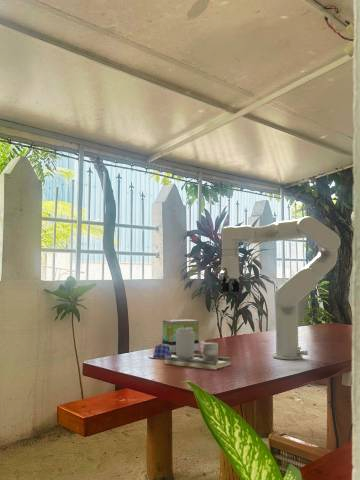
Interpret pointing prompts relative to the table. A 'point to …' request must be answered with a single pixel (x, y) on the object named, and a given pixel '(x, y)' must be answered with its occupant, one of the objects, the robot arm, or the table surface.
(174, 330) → the tea box
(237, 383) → the table surface
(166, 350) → the blue plaid cloth
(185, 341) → the can
